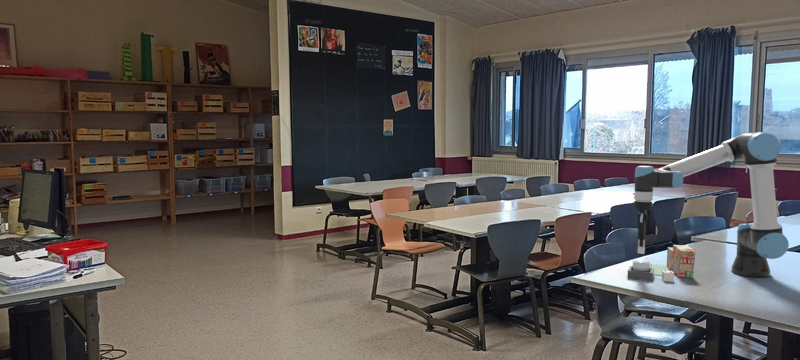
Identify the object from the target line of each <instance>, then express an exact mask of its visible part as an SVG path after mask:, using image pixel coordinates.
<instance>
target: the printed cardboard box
mask: <svg viewBox="0 0 800 360" xmlns="http://www.w3.org/2000/svg"><path fill="white" fill-rule="evenodd" d="M666 248H667V249H666V265H667V266H668V267H669V270H670V271H673V272H674V275H675V276H677V277H678V278H688V279H693V278H694V269H695V259H696V251H695V250H694V248H691V247H690V246H688V245H686V244H685V245H684V244H681V245H680V244H673V245H672V247H669V246H668V247H666Z"/></svg>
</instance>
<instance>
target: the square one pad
mask: <svg viewBox="0 0 800 360" xmlns="http://www.w3.org/2000/svg"><path fill="white" fill-rule="evenodd" d="M652 265H653V266H652V268H654V276H660V275H661V277H662V270H666V271H670V268H669V267H668V266H667V264H652Z"/></svg>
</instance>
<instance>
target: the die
mask: <svg viewBox="0 0 800 360" xmlns="http://www.w3.org/2000/svg"><path fill="white" fill-rule="evenodd" d="M661 280H662V282H665V281H672V282H671V283H674V282H675V273H674V272H673V271H672V270H669V271H666V270H662V276H661Z"/></svg>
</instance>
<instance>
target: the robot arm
mask: <svg viewBox="0 0 800 360" xmlns="http://www.w3.org/2000/svg"><path fill="white" fill-rule="evenodd" d="M781 148H782V145H781V142H780V140H779V139H778V137H777V136H775V134H772V133H770V132H764V131H759V132H745V133H742V134H740V135H736V136H734V137H733V138H730V139H728V140H725V141H723V142H721V144H720V145H718V146H716V147H713V148H710V149H708V150H705V151H702V152H700V153H697V154H694V155H692V156H689V157H686V158H684V159H680V160H679V161H676V162H673V163H670V164H667V165H665V166H662V167H659V168H654V166H652V165H638V166H636V168H635V170H634V171H635V172H634V192H633V193H632V195H633V200H634V201H633V210H636V211H638V213H637V215H636V216H637V217H636V218H637V224H638V225H637V226H638V227H637V231H638V232H637V237H636V240H637V254H641V255H645V249H646V248H645V247H646V239H647V235H646V230H647V229H646V228H647V223H648V216H649V213H647V211H652V210H653V202H652V201H653V199H654V195H653V194H654V189H655V188H656V189H657V188H660V189H661V188H663V189H680V188H681V187H683V185H684V178H685V177H687V176H690V175H693V174H696V173H698V172H701V171H703V170H707V169H709V168H712V167H715V166H718V165H720V164H723V163H725V162H730V163H732V162H736V161H739V160H744V161H743V162H744V166H745V167H746V168H748V169H749V179H750V180H749V182H750V192H751V194H750V195H751V204H752V205H751V206H752V214H753V223H739V224H738V226H737V231H736V232H737V235H736V236H737V237H736V256H735V258H734V260H733V262H732V265H731V270H730V271H731V273H733V274H736V275H740V276H742V277H743V276H744V277H752V278H768V277H770V276H771V268H770V265H769V262H768V259H769V260H776V259H779V258H781V257H783V256H784V255H785V254H786V253H787V252H788V249H789V240H788V238H787V237H786V236H785V234H784V232H783V226H782V224H781V223H779V222H778V214H777V201H776V200H777V199H776V190H775V189H776V188H775V174H774V166H775V165H776V164H777V163H778V160H777V159H778V158H777V157H778V155H779V154H780V152H781V150H782V149H781Z"/></svg>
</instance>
